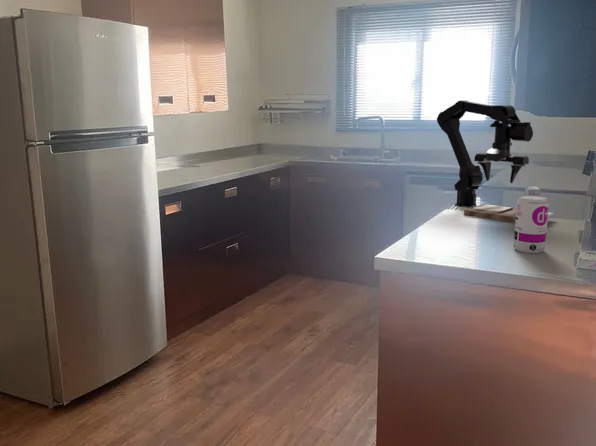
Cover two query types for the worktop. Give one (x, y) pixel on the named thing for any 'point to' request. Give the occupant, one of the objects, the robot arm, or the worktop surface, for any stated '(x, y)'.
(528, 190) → the medicine box
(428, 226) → the worktop surface
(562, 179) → the worktop surface
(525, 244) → the supplement can
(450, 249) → the worktop surface
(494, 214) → the tan backing board
